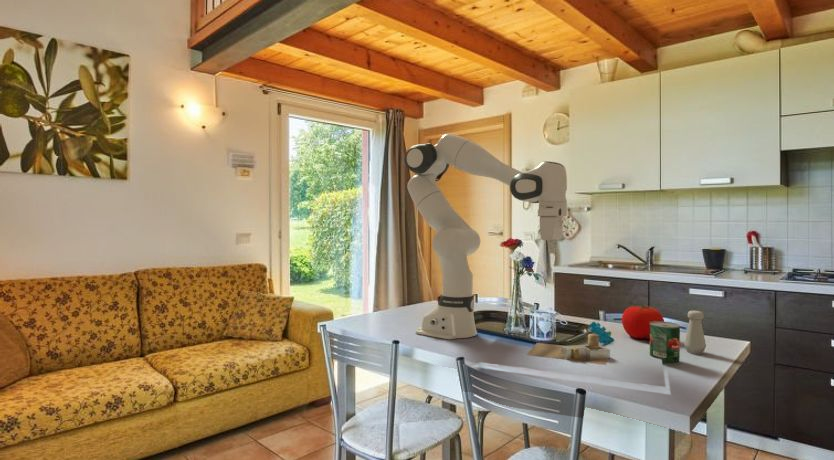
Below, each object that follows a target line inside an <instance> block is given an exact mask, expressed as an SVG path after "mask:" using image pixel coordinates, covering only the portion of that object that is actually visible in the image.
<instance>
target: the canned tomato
mask: <svg viewBox="0 0 834 460" xmlns="http://www.w3.org/2000/svg"><path fill="white" fill-rule="evenodd" d="M680 338H681V325H680V324H678V323H675V322H670V321H664V322H663V321H654V322H650V338H649V356H650V357H652V358H655V359H659V360H661V362H662V363H661V364H662V365H666V366H676V365H680V363H681V362H680V357H681V356H680V355H681V353H680V352H681V351H680V349H681V348H680V347H681V346H680V345H681V339H680Z"/></svg>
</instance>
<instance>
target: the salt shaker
mask: <svg viewBox="0 0 834 460" xmlns="http://www.w3.org/2000/svg"><path fill="white" fill-rule="evenodd" d="M687 318H688V319H689V322H688V326H687V329H686V330H687V331H686V335H685V339H684V347H685V349H686V351H687V353H690V354H691V355H692V354H693V355H702V354H703V353H704V352H705V349H706V347H707V345H706V339H705V334H704V328H703V324H702V320H703V319H704V312H702V311H699V310H689V311H688V312H687Z"/></svg>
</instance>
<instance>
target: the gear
mask: <svg viewBox="0 0 834 460" xmlns="http://www.w3.org/2000/svg"><path fill="white" fill-rule="evenodd" d="M601 326H602V325H601V324H600V323H599V322H597V323H596V321H592V322H591V323H590V324H589V327H590V329H589V331H590V332H593V334H597V335H599V344H602V343H603V342H604V344H603V345H605V346H608V345H609V344H611V343H613V342H614V341H615V339H614V337H612V336H611V335H612V331H610V330H609V331H606V330H607V329H606V327H605V326H602V327H601Z"/></svg>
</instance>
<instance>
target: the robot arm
mask: <svg viewBox="0 0 834 460" xmlns="http://www.w3.org/2000/svg"><path fill="white" fill-rule="evenodd" d="M404 162H405V166H406V168H407V169H408V170H409V171H411V172H412V173H414V175H413V176H412V177H411V178H410V179H409V180H408V182H407V187H406V188H407V191H408V193H409V195H410V199H411V200H412V202H413V204H414V205H415V207H416V208H417V211H418V212H419V213H420V215H421V216H422V218H423V219H424V221H425V223H426V224H427V225H428V226H429V227H430V228H431V229H433V230H434V231H435V232H436V233H435V235H434V236H433V238H432V243H431V246H432V250H433V251H434V253H435V254H436V256H437V259H438V261H439V262H438V263H439V266H440V270H441V285H442V286H441V289H442V290H441V291H442V293H441V294H440V295H438V296H437V297H436V298H435V301H437V305H436V306H434V307H432V309H430V310H429V311H427V312H426V313H425V314H423V317H422V321H421V326H418V327H417V328H416V329H415V334H417V335H421V336H428V337H435V338H439V339H444V340H454V339H455V340H456V339H463V338H464V339H465V338H466V339H467V338H471V337H474V336H477V335H478V330H477V328H476V323H475V317H474V310H475V309H474V308H475V297H474V295H473V293H474V292H473V289H474V287H473V285H474V284H473V283H474V282H473V281H474V279H473V278H474V277H473V276H474V275H473V272H472V271H471V269H470V265H469V262H468V257H467V256H470V255H472V254H474V253H475V252H476V251H477V250H478V249H479V248H480V246H481V237H480V234H479V232H478V231H476V230H475V229H474V228H472V227H471V226H470V225H469V224H468V222H466V221H465V220H464V218H463V217H461V215H460V214H459V213H458V212H457V211H456V210H455V209H454V208H453V206H452V205H451V204H450V202H449V201H448V199H447V198H446V197H445V195H444V194H443V192H442V190H440V188H439V186H438V184H437V182H439V181H440V180H441V178H442V177H443V176H444V174H446V173H447V171H448V169H449V167H450V166H451V167H454V168H455V169H457V170H458V171H461V172H463V173H467V174H468V175H472V176H478V177H485V178H491V179H493V180H496V181H499V182H501V183H503V184H505V185H507V186H509V190H510V193H511V195H512V197H514V198H515V199H516V200H518V201H522V202H526V203H532V204H538V210H537V217H539V235H540V239H541V240H542V241H546V242H547V246H548V247H547V248H548V252H547V253H548V254H555V253H556V250H557V249H556V248H557V242H558V241H557V240H560V239H562V238H563V217H567V213H568V212H567V211H568V210H567V207H568V206H567V205H568V202H567V195H566V193H567V191H568V190H567V189H568V178H567V169H566V166H564V164H562V163H560V162H554V161H548V160H547V161H546V160H545V161H542V162H540V164H538V165H537V166H536V167H534V168H531V169H529V170H527V171H524V172H522V171H521V170H519V169H516V168H514V167H511V166H510V165H508V164H506V163H504V162H502V161H501V160H499V159H498V158H497V157H495V156H494V155H493V154H491V153H490V151H488V150H486V148H484V147H482V146H481V145H479V144H478V143H476V142H474V141H473V140H470V139H468V138H466V137H464V136H461V135H457V134H454V133H445V134H444V135H442V136H441V137H440V138H439V140H438V142H437V143H436V144H435V145H433V144H432V143H431V142H429V143H421V144H420V143H419V144H416V145H412V146H410V147H409V148H408V149H407V151H406V152H405V154H404Z"/></svg>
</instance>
